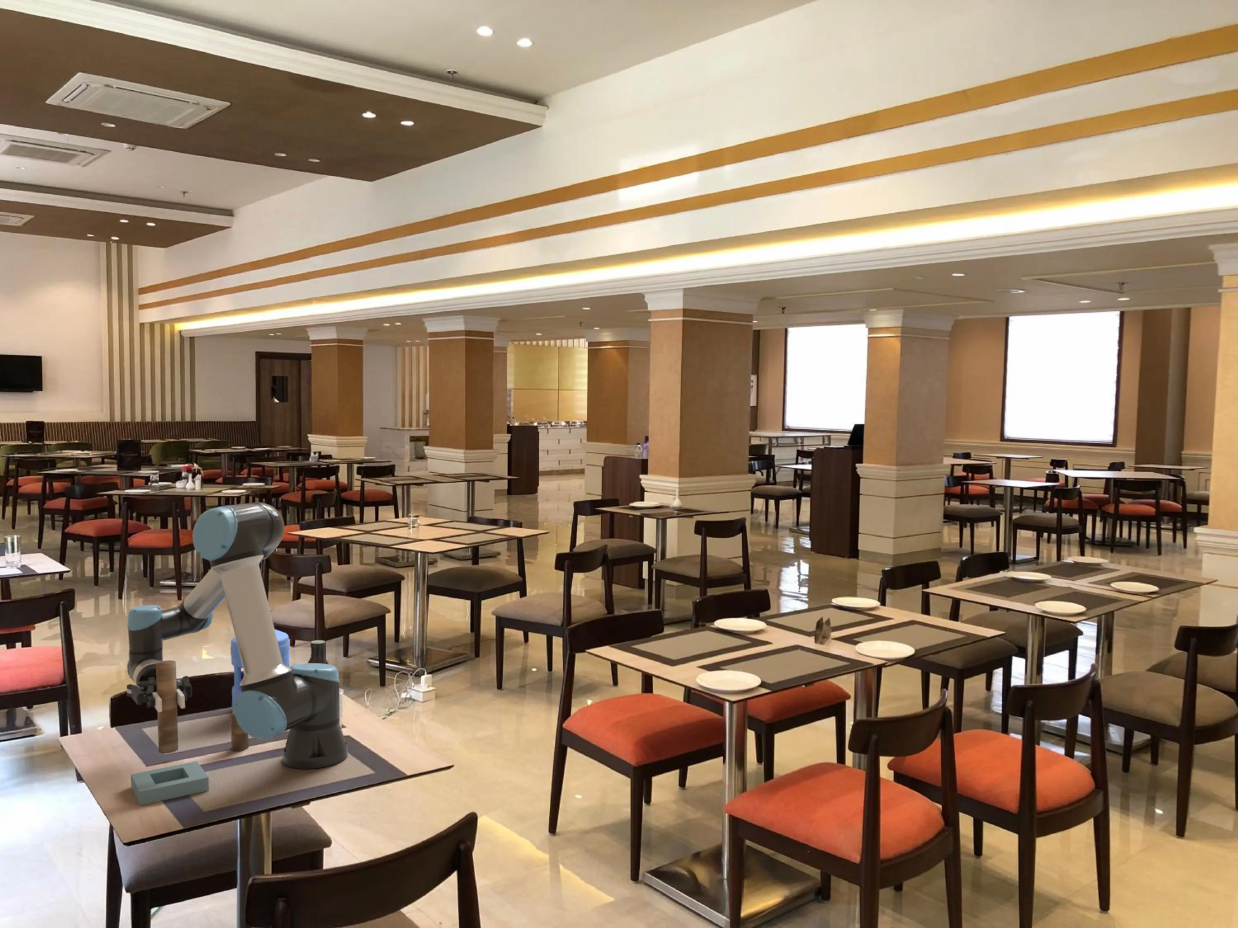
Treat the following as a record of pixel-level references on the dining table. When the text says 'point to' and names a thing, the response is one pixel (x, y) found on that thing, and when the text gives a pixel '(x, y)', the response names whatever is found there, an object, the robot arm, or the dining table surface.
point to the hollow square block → (169, 782)
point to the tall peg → (167, 706)
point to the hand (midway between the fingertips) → (171, 703)
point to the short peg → (237, 735)
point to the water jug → (236, 662)
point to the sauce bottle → (318, 652)
